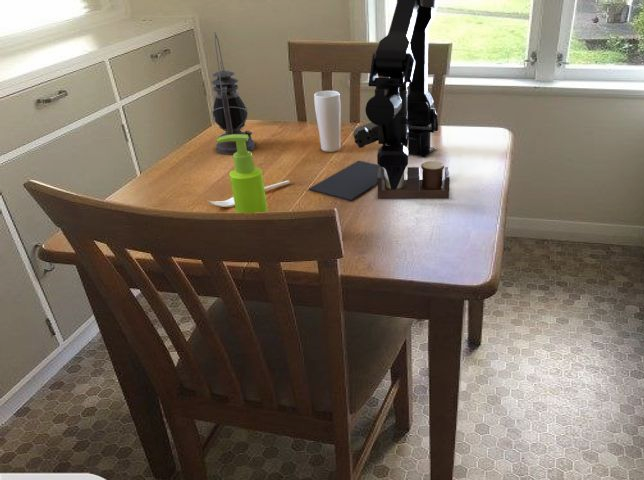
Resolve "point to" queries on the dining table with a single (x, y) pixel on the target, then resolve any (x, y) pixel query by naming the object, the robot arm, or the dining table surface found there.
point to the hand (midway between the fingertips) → (394, 180)
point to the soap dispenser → (246, 178)
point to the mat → (350, 181)
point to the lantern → (229, 109)
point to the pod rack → (413, 187)
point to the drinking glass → (328, 119)
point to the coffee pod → (387, 183)
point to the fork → (231, 201)
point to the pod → (432, 174)
